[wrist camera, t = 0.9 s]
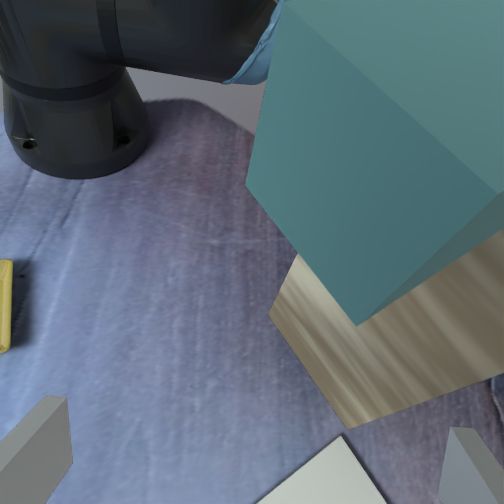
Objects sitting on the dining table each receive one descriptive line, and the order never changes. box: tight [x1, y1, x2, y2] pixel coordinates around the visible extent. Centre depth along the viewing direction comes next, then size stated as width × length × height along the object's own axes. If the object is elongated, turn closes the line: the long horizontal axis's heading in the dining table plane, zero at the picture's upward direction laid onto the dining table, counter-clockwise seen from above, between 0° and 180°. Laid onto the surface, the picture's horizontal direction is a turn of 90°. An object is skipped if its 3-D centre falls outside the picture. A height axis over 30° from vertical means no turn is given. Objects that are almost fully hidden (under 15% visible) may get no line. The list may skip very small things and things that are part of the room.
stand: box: [268, 228, 504, 429], centre depth 26 cm, size 15×13×28 cm
